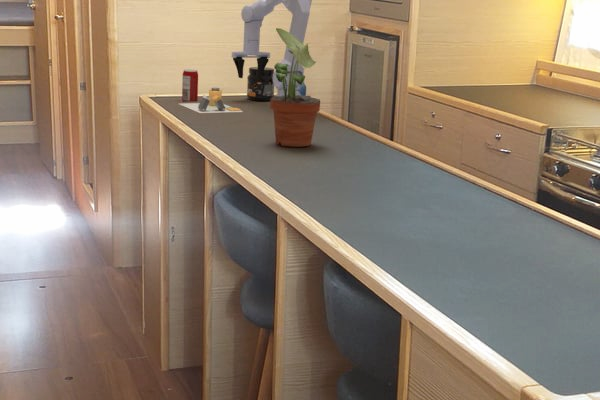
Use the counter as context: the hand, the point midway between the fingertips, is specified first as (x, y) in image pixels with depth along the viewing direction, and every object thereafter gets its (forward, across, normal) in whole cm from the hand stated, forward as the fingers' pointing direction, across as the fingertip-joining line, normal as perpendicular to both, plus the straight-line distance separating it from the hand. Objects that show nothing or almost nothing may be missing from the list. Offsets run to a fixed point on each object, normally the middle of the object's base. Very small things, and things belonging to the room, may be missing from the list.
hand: (250, 77), depth 323 cm
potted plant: (+10, +20, +72) cm, 75 cm away
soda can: (+10, +20, -8) cm, 24 cm away
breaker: (+9, +26, +17) cm, 32 cm away
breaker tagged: (+9, +18, +17) cm, 26 cm away
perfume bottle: (+10, -20, -2) cm, 23 cm away
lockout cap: (+8, +17, +8) cm, 21 cm away
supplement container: (+10, -10, -11) cm, 18 cm away
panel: (+10, +20, +11) cm, 25 cm away
